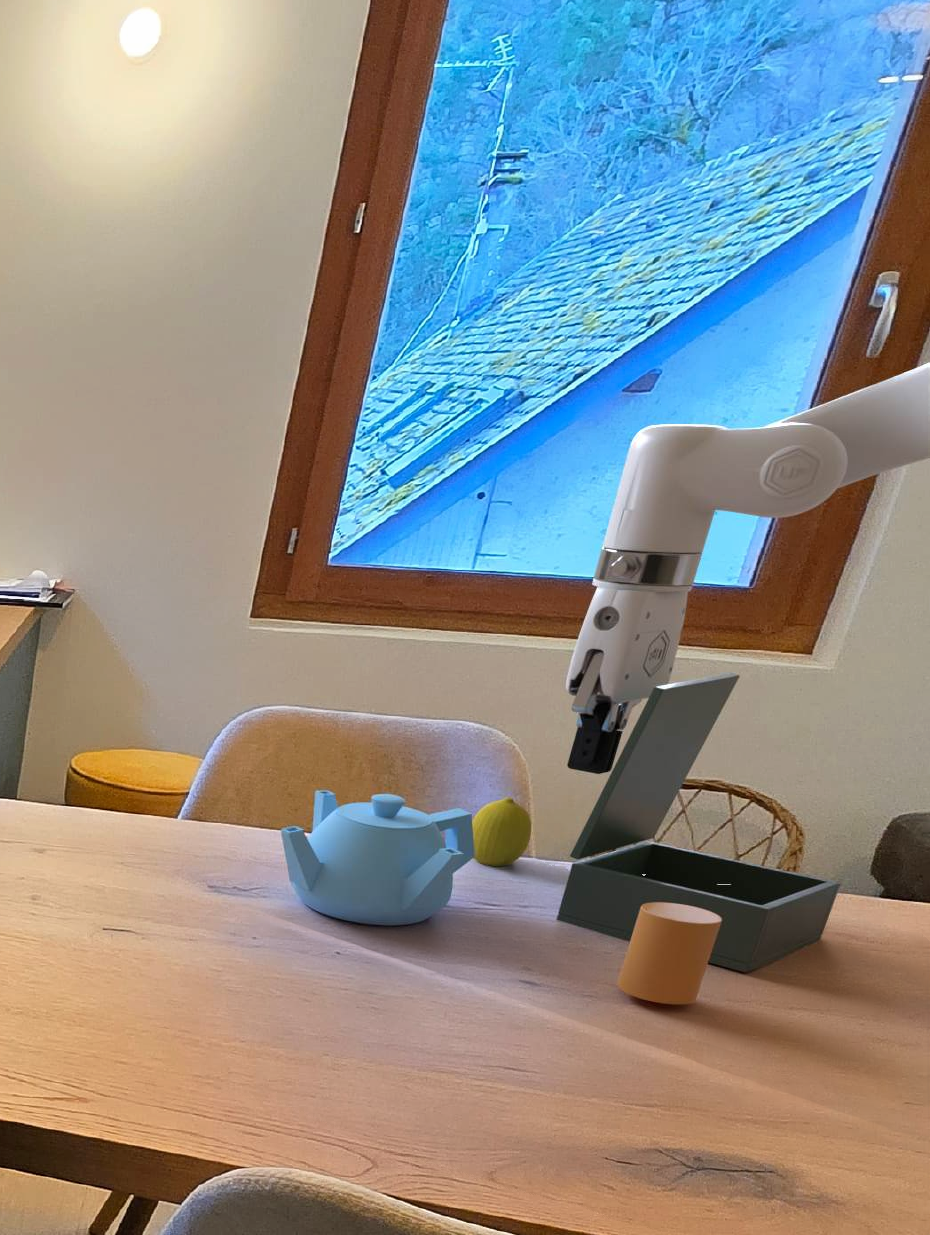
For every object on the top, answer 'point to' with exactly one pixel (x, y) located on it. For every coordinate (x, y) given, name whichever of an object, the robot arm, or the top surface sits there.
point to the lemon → (501, 832)
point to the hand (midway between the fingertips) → (588, 769)
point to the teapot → (377, 859)
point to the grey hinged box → (702, 899)
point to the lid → (654, 763)
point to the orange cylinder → (668, 952)
